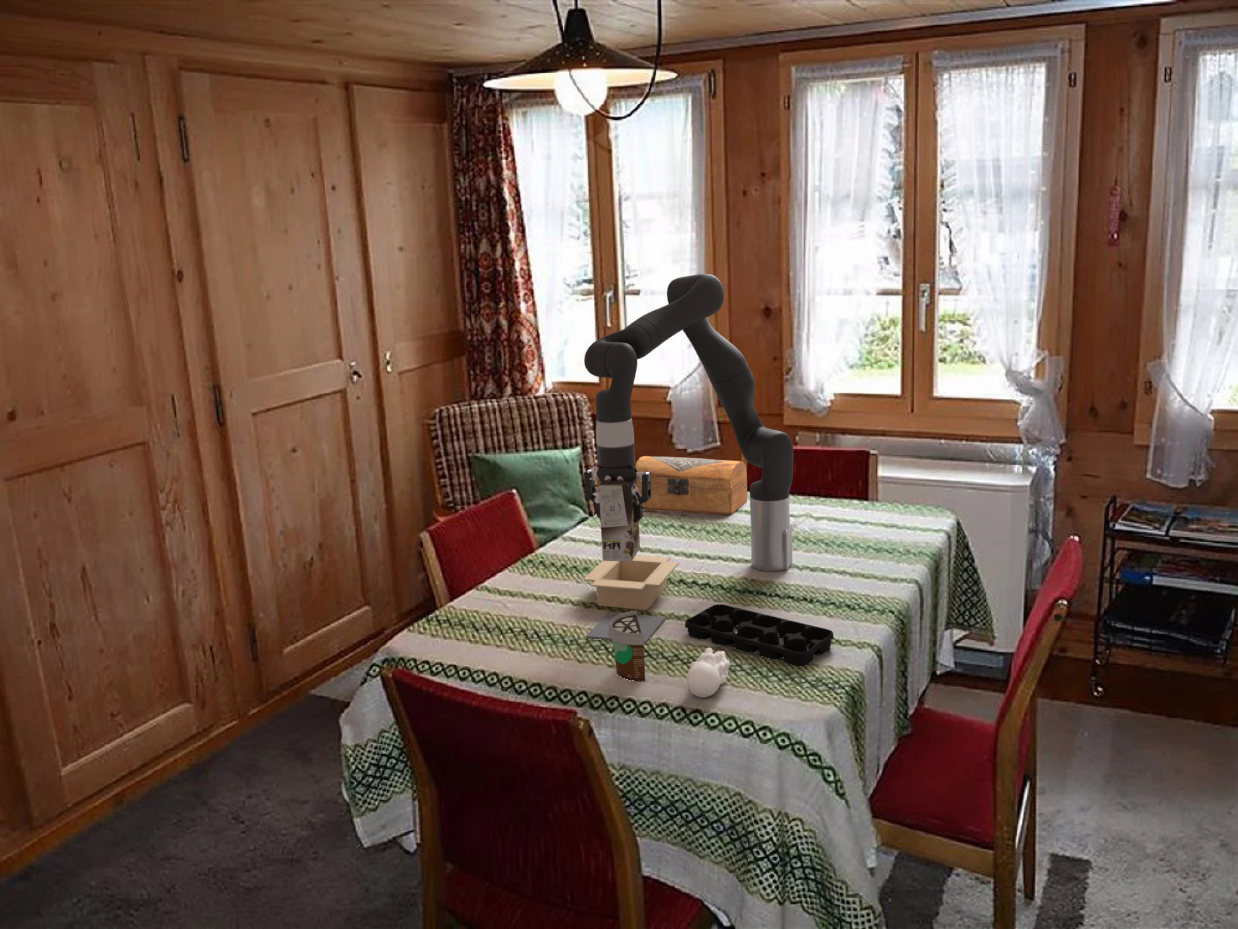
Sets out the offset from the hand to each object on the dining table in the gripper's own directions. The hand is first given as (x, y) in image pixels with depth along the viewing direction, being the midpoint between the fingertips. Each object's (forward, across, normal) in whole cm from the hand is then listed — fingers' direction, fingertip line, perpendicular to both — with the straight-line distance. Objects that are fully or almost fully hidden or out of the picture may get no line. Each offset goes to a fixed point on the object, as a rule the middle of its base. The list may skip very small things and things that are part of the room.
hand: (619, 520), depth 220 cm
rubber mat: (+24, 0, 0) cm, 24 cm away
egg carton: (+24, -28, 0) cm, 37 cm away
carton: (+24, +5, -18) cm, 30 cm away
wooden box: (+24, +13, -90) cm, 94 cm away
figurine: (+24, -24, +23) cm, 41 cm away
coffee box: (+7, 0, 0) cm, 7 cm away
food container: (+24, -7, +20) cm, 32 cm away
